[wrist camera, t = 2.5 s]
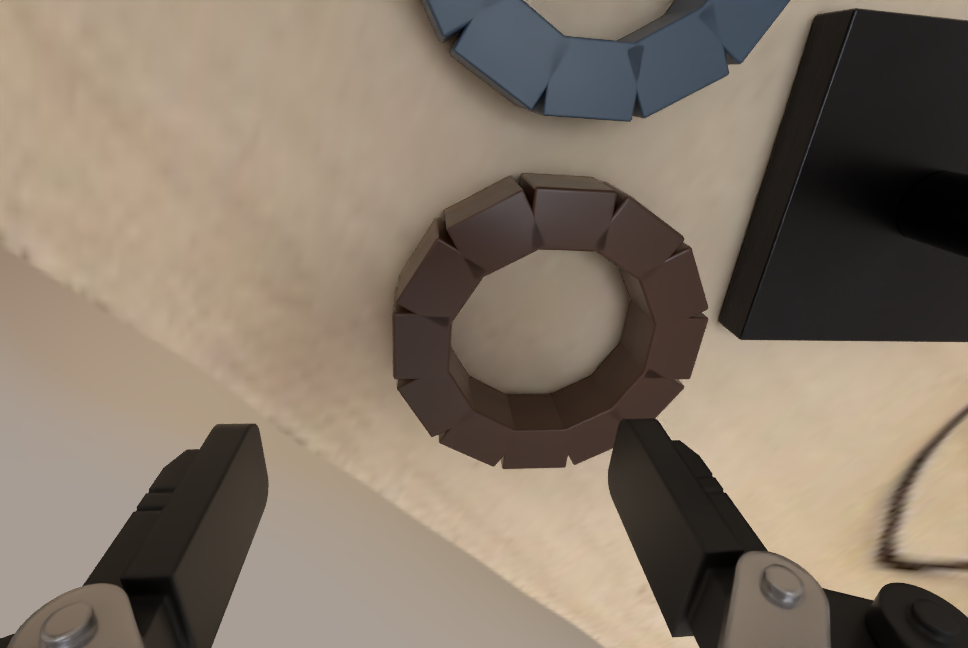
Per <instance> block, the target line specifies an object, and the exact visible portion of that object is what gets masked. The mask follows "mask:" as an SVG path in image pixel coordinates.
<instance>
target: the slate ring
mask: <svg viewBox="0 0 968 648" xmlns="http://www.w3.org/2000/svg"><path fill="white" fill-rule="evenodd" d="M789 1H790V0H675V1H674V2H673V4H672V5H671V7H670V8H669V9H668V11H667V12H666V14H665V15H664V16H662V17H660V18H659V19H657V20H655V21H653V22H651V23H649V24H648V25H646V26H644V27H642V28H640V29H638V30H636V31H635V32H633V33H631V34H629V35H627V36H625V37H623V38H622V39H620V40H618V41H613V40H603V39H592V38H581V37H570V36H564V35H563V34H562V33H561V32H559V31H558V30H557V29H556V28H555V27H554V26H552V25H551V24H550V23H549V22H548V21H547V20H545V19H544V18H543V17H542V16H541V15H540V14H538V13H537V12H536V11H535V10H534V9H533V8H531V7H530V6H529V5H528V4H527V3H526V2H524V1H523V0H421V2H422V5H423V7H424V9H425V11H426V13H427V16H428V18H429V20H430V22H431V24H432V27H433V29H434V31H435V33H436V35H437V37H438V40H439V41H440V42H445V41H446V40H448V39H450V38H452V37H453V36H455V35H457V34H459V33H460V34H459V36H458V38H457V40H456V41H455V43H454V45H453V47H452V48H451V50H450V52H449V54H450V56H452V57H453V58H454V59H456V60H457V61H458V62H460V63H461V64H462V65H463V66H465V67H466V68H467V69H469V70H470V71H471V72H473V73H474V74H475V75H477V76H478V77H479V78H481V79H482V80H483V81H485V82H486V83H487V84H488V85H490V86H491V87H492V88H494V89H495V90H496V91H498V92H499V93H500V94H502V95H503V96H504V97H506V98H507V99H508V100H510V101H511V102H512V103H513V104H515V105H517V106H520V107H523V108H526V109H528V110H529V111H532V112H535V113H538V114H541V115H544V116H557V117H571V118H585V119H599V120H613V121H628V122H630V121H631V120H632V116H636V117H641V118H646V117H648V116H650V115H652V114H654V113H656V112H658V111H660V110H662V109H663V108H665V107H667V106H669V105H671V104H673V103H675V102H677V101H679V100H681V99H683V98H685V97H687V96H689V95H691V94H692V93H694V92H696V91H698V90H700V89H702V88H704V87H706V86H708V85H710V84H712V83H714V82H716V81H718V80H720V79H722V78H723V77H725V76H727V75H728V74H729V71H728V66H727V65H730V64H741V63H742V62H743V61H744V59H745V58H746V57H747V56H748V54H749V53H750V52H751V50H752V49H753V48H754V47H755V45H756V44H757V43H758V41H759V40H760V39H761V37H762V36H763V35H764V34H765V32H766V31H767V30H768V28H769V27H770V26H771V25H772V23H773V22H774V21H775V19H776V18H777V17H778V16H779V14H780V13H781V12H782V10H783V9H784V8H785V7H786V5H787V4H788V3H789Z"/></svg>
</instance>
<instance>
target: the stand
mask: <svg viewBox="0 0 968 648" xmlns="http://www.w3.org/2000/svg"><path fill="white" fill-rule="evenodd" d="M719 322H720V323H721V324H722V325H723V326H724V327H726V328H727V329H728V330H729V331H730V332H732V333H733V334H734V335H735V336H736V337H738V338H739V339H740V340H812V341H913V342H968V21H967V20H958V19H949V18H940V17H931V16H922V15H912V14H903V13H894V12H885V11H876V10H867V9H858V8H855V9H849V10H842V11H836V12H829V13H823V14H818V15H817V16H816V18H815V21H814V24H813V27H812V30H811V33H810V36H809V40H808V43H807V46H806V49H805V52H804V55H803V58H802V61H801V65H800V68H799V71H798V74H797V77H796V80H795V83H794V86H793V90H792V93H791V96H790V99H789V102H788V105H787V108H786V112H785V115H784V118H783V121H782V124H781V127H780V130H779V133H778V137H777V140H776V143H775V146H774V149H773V152H772V155H771V158H770V162H769V165H768V168H767V171H766V174H765V177H764V180H763V184H762V187H761V190H760V193H759V196H758V199H757V202H756V205H755V209H754V212H753V215H752V218H751V221H750V224H749V227H748V230H747V234H746V237H745V240H744V243H743V246H742V249H741V252H740V256H739V259H738V262H737V265H736V268H735V271H734V274H733V277H732V281H731V284H730V287H729V290H728V293H727V296H726V299H725V302H724V306H723V309H722V312H721V315H720V318H719Z"/></svg>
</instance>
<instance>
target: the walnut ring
mask: <svg viewBox="0 0 968 648" xmlns="http://www.w3.org/2000/svg"><path fill="white" fill-rule="evenodd" d="M444 216H445V222H446V224H445V223H444V222H442V221H441V220H439V219H437V218H436V219H434V221H433V223H432V224H431V226H430V227H429V229H428V231H427V232H426V234H425V235H424V237H423V239H422V240H421V242H420V243H419V245H418V247H417V248H416V250H415V251H414V253H413V255H412V256H411V258H410V259H409V261H408V262H407V264H406V266H405V267H404V269H403V270H402V272H401V274H400V275H399V282H398V287H396V290H395V298H394V306H393V314H392V324H393V377H394V379H398V381H397V389H398V391H399V392H400V394H401V395H402V396H403V398H404V399H405V401H406V402H407V403H408V405H409V406H410V408H411V409H412V410H413V412H414V413H415V415H416V416H417V417H418V419H419V420H420V421H421V423H422V424H423V426H424V427H425V428H426V430H427V431H428V433H429V434H430V435H431V437H434V436H436V435H438V434H439V443H441V444H443V445H445V446H447V447H450V448H452V449H454V450H456V451H459V452H461V453H463V454H466V455H468V456H470V457H472V458H475V459H477V460H479V461H481V462H484V463H486V464H488V465H491V466H495V465H496V464H497V463H498V462H499V460H500V459H501V464H502V468H503V469H524V468H562V467H566V461H567V456H568V455H569V457H570V459H571V461H572V463H573V464H574V465H576V464H578V463H580V462H583V461H585V460H587V459H589V458H592V457H594V456H596V455H599V454H601V453H603V452H605V451H608V450H610V449H612V448H613V447H614V442H615V438H616V433H617V429H618V425H619V423H620V421H621V420H622V419H649V418H653V419H655V418H656V417H657V416H658V415H659V414H660V413H661V412H662V411H663V410H664V409H665V408H666V407H667V406H668V404H669V403H670V402H671V401H672V400H673V399H674V398H675V397H676V396H677V395H678V394H679V393H680V392H681V391H682V390H683V389H684V385H683V384H682V383H681V382H680V381H679V379H690V377H691V374H692V371H693V368H694V364H695V361H696V358H697V355H698V351H699V348H700V345H701V342H702V338H703V335H704V332H705V329H706V325H707V322H708V318H707V317H706V316H705V315H704V314H703V313H702V312H703V311H705V310H707V309H708V305H707V301H706V298H705V294H704V291H703V287H702V284H701V280H700V277H699V273H698V270H697V266H696V263H695V259H694V256H693V252H692V249H691V247H690V246H688V245H687V244H685V243H684V242H683V241H684V237H683V236H682V235H681V234H680V233H678V232H677V231H676V230H674V229H673V228H672V227H671V226H669V225H668V224H667V223H665V222H664V221H663V220H661V219H660V218H659V217H657V216H656V215H655V214H653V213H652V212H651V211H649V210H648V209H647V208H645V207H644V206H643V205H641V204H640V203H639V202H637V201H636V200H635V199H633V198H632V197H631V196H629V195H628V194H626V193H624V192H622V191H621V190H619V189H617V188H616V187H614V186H612V185H610V184H609V183H607V182H603V183H602V182H600V181H598V180H597V179H595V178H593V177H581V176H563V175H545V174H527V173H524V174H522V175H521V181H520V186H519V185H518V183H517V182H516V181H515V180H514V179H513V178H512V177H511V176H509V177H507V178H505V179H503V180H501V181H499V182H497V183H495V184H493V185H491V186H489V187H487V188H486V189H484V190H482V191H480V192H478V193H476V194H474V195H472V196H470V197H468V198H466V199H464V200H463V201H461V202H459V203H457V204H455V205H453V206H451V207H449V208H447V209H445V210H444ZM538 249H541V250H570V251H596V252H597V253H599V254H600V255H602V256H603V257H605V258H606V259H608V260H609V261H611V262H612V263H614V264H615V265H617V266H618V267H619V269H620V272H621V274H622V277H623V280H624V282H625V285H626V288H627V290H628V293H629V296H630V298H631V300H630V305H629V309H628V313H627V318H626V322H625V327H624V331H623V336H622V340H621V342H620V344H619V345H618V346H617V347H616V348H615V349H614V351H613V352H612V353H611V354H610V355H609V356H608V358H607V359H606V360H605V361H604V362H603V363H602V365H601V366H600V367H599V368H598V369H597V370H596V372H595V373H594V374H593V375H592V376H590V377H588V378H586V379H584V380H581V381H579V382H577V383H575V384H573V385H570V386H568V387H566V388H564V389H562V390H560V391H557V392H555V393H553V394H551V395H505V394H503V393H501V392H499V391H497V390H495V389H493V388H491V387H489V386H487V385H485V384H483V383H481V382H479V381H477V380H475V379H473V378H471V377H469V376H468V374H467V373H466V371H465V369H464V368H463V366H462V364H461V363H460V361H459V360H458V358H457V356H456V355H455V353H454V351H453V350H452V348H451V327H452V321H453V320H454V318H455V317H456V316H457V314H458V313H459V311H460V310H461V308H462V307H463V306H464V304H465V303H466V301H467V300H468V298H469V297H470V296H471V294H472V293H473V291H474V290H475V288H476V287H477V286H478V284H479V283H480V281H481V280H482V278H483V277H484V276H486V275H488V274H490V273H492V272H494V271H496V270H498V269H500V268H502V267H504V266H506V265H508V264H510V263H512V262H514V261H516V260H518V259H520V258H522V257H524V256H526V255H528V254H530V253H532V252H534V251H536V250H538Z"/></svg>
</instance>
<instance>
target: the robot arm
mask: <svg viewBox="0 0 968 648" xmlns="http://www.w3.org/2000/svg"><path fill="white" fill-rule="evenodd" d="M608 485H609V490H610V494H611V497H612V500H613V502H614V504H615V507H616V509H617V511H618V513H619V516H620V518H621V520H622V523H623V525H624V527H625V529H626V532H627V534H628V536H629V539H630V541H631V543H632V546H633V548H634V550H635V552H636V555H637V557H638V559H639V562H640V564H641V566H642V568H643V571H644V573H645V575H646V578H647V580H648V582H649V584H650V587H651V589H652V591H653V594H654V596H655V598H656V601H657V603H658V605H659V607H660V610H661V612H662V614H663V617H664V619H665V621H666V623H667V626H668V628H669V630H670V633H671V635H672V637H684V636H694V637H695V639H696V641H697V643H698V645H699V647H700V648H968V617H966V616H965V615H964V614H963V613H962V612H961V611H960V610H958V609H957V608H956V607H954V606H953V605H952V604H950V603H949V602H947V601H946V600H944V599H942V598H941V597H939V596H937V595H935V594H934V593H932V592H930V591H927V590H925V589H923V588H920V587H917V586H914V585H910V584H906V583H890V584H887V585H885V586H884V587H882V589H881V590H880V592H879V593H878V595H877V596H876V598H875V599H874V601H873V600H869V599H865V598H861V597H856V596H852V595H848V594H844V593H840V592H836V591H831V590H827V589H824V588H822V587H821V586H820V585H819V583H818V582H817V581H816V580H815V579H814V578H813V576H812V575H810V574H809V573H808V572H807V571H806V570H805V569H803V568H802V567H801V566H799V565H798V564H796V563H795V562H793V561H792V560H790V559H788V558H786V557H784V556H781V555H778V554H776V553H772V552H768V551H767V549H766V548H765V546H764V545H763V544H762V542H761V541H760V539H759V538H758V537H757V535H756V534H755V532H754V531H753V530H752V528H751V527H750V526H749V524H748V523H747V521H746V520H745V519H744V517H743V516H742V514H741V513H740V512H739V510H738V509H737V507H736V506H735V505H734V503H733V502H732V500H731V499H730V498H729V496H728V495H727V494H726V493H724V492H723V488H722V487H721V485H720V484H719V482H718V481H717V480H716V478H715V477H712V473H711V471H710V470H709V468H708V467H707V466H706V464H705V463H704V462H703V460H702V459H701V457H700V456H699V455H698V454H696V453H695V452H694V451H693V450H691V449H690V448H689V447H687V446H686V445H685V444H684V443H682V442H681V441H680V440H671V439H670V437H669V436H668V434H667V433H666V431H665V430H664V428H663V427H662V425H661V424H660V423H659V421H658V420H656V419H653V418H649V419H622V420H621V421H620V423H619V425H618V429H617V433H616V438H615V442H614V447H613V451H612V456H611V460H610V465H609V470H608ZM267 496H268V475H267V469H266V464H265V458H264V453H263V447H262V442H261V436H260V432H259V428H258V426H257V425H256V424H217V425H216V426H215V427H214V428H213V429H212V430H211V432H210V434H209V435H208V437H207V438H206V440H205V442H204V443H203V445H202V446H201V448H200V449H199V450H198V449H195V450H186V451H185V452H183V453H182V454H181V455H179V456H178V457H177V458H176V459H174V460H173V461H172V462H171V463H169V464H168V465H167V466H165V467H164V468H163V470H162V471H161V473H160V474H159V476H158V477H157V478H156V480H155V481H154V483H153V484H152V486H151V487H150V489H149V493H148V494H147V493H146V494H145V496H144V497H143V499H142V500H141V502H140V503H139V505H138V506H137V511H136V512H133V513H132V515H131V516H130V518H129V519H128V521H127V522H126V524H125V525H124V527H123V528H122V529H121V531H120V532H119V534H118V535H117V537H116V538H115V540H114V541H113V543H112V544H111V546H110V547H109V548H108V550H107V551H106V553H105V554H104V556H103V557H102V559H101V560H100V562H99V563H98V564H97V566H96V567H95V569H94V570H93V572H92V573H91V575H90V576H89V578H88V579H87V581H86V582H85V583H84V585H83V586H82V587H79V588H76V589H73V590H71V591H68V592H66V593H64V594H62V595H60V596H58V597H56V598H54V599H53V600H51V601H50V602H48V603H47V604H45V605H44V606H42V607H41V608H40V609H38V610H37V611H36V612H35V613H33V614H32V615H31V616H30V617H29V618H28V619H27V620H26V621H25V622H24V623H23V624H22V625H21V626H20V628H19V629H18V630H17V631H16V633H15V634H12V635H9V636H7V637H4V638H0V648H211V647H212V644H213V642H214V639H215V636H216V634H217V631H218V629H219V626H220V623H221V621H222V618H223V616H224V613H225V610H226V608H227V605H228V603H229V600H230V597H231V595H232V592H233V590H234V587H235V584H236V582H237V579H238V577H239V574H240V571H241V569H242V566H243V564H244V561H245V558H246V556H247V553H248V550H249V548H250V545H251V543H252V540H253V538H254V535H255V532H256V530H257V527H258V524H259V522H260V519H261V517H262V514H263V512H264V509H265V506H266V502H267Z"/></svg>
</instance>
